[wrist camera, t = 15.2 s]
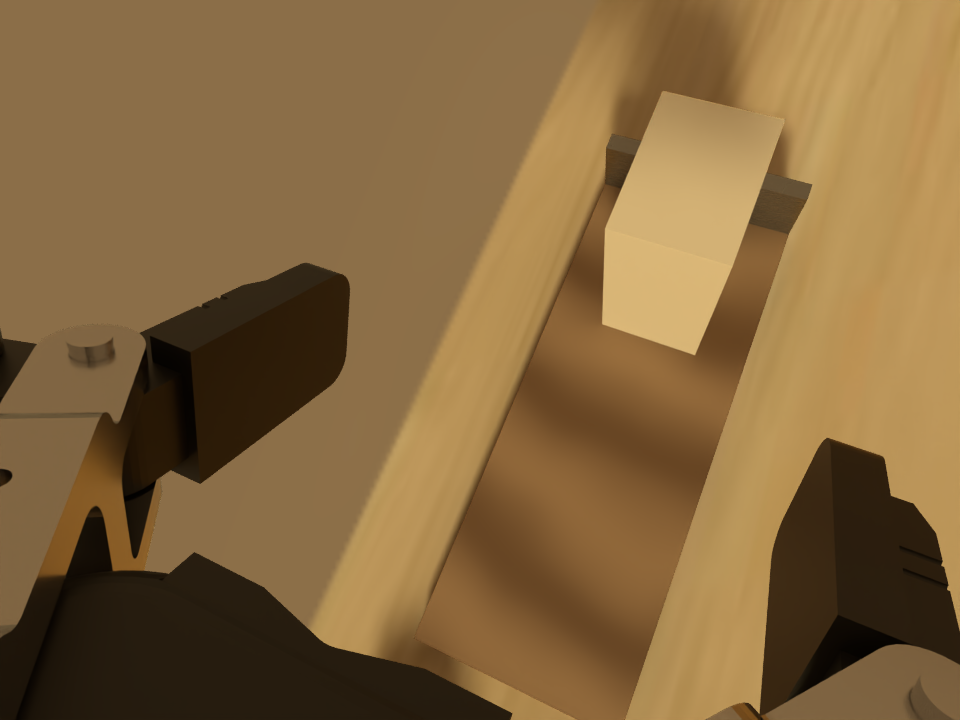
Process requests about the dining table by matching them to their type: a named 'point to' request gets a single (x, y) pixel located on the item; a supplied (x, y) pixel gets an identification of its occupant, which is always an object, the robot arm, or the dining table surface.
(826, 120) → the dining table surface
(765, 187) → the rail
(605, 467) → the shelf board
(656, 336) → the carton
